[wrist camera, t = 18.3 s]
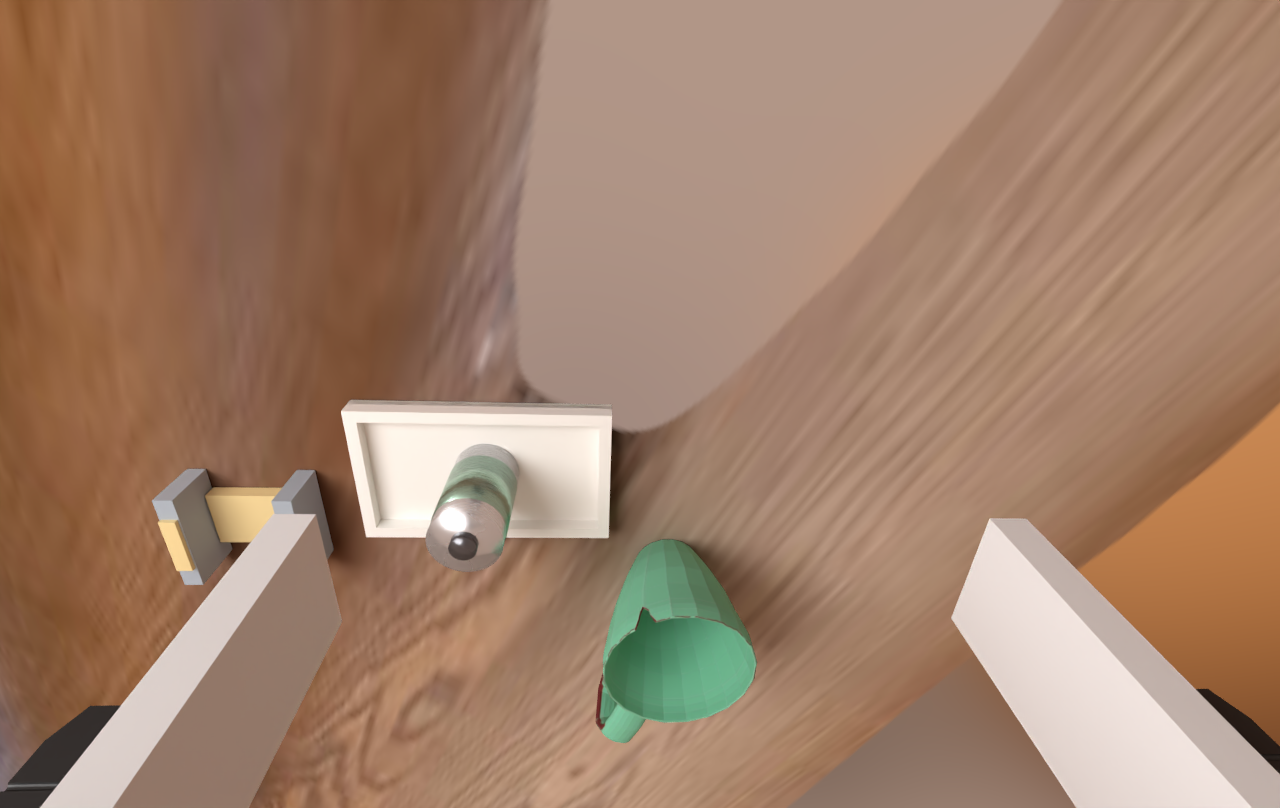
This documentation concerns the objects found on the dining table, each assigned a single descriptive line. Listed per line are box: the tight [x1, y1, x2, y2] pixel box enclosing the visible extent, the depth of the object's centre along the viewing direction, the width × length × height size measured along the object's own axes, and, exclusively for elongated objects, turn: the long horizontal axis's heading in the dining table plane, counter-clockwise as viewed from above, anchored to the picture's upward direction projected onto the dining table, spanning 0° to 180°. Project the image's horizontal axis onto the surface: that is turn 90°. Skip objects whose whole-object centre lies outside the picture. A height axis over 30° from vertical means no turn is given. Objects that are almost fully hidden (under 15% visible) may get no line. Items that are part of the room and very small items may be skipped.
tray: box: [341, 400, 612, 538], centre depth 41 cm, size 10×17×2 cm, turn 87°
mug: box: [596, 539, 757, 743], centre depth 43 cm, size 15×10×10 cm
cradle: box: [152, 469, 334, 585], centre depth 41 cm, size 7×8×4 cm
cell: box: [426, 443, 520, 572], centre depth 38 cm, size 4×4×8 cm
